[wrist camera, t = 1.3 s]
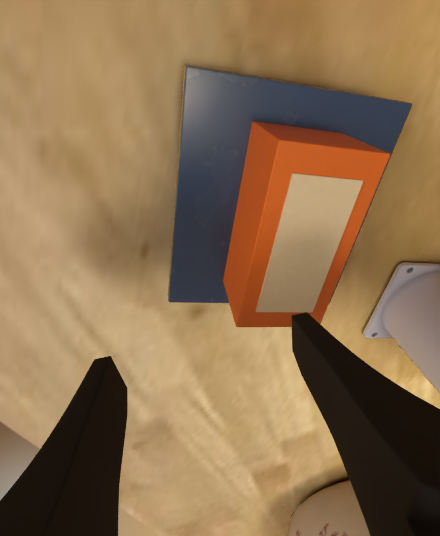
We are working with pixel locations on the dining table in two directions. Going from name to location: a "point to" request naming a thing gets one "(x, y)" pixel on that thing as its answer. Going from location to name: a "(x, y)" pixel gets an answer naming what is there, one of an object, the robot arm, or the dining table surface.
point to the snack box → (296, 221)
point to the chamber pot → (329, 513)
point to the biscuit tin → (234, 153)
